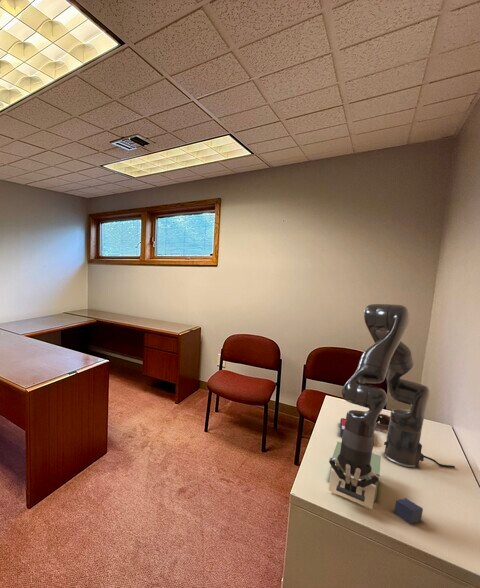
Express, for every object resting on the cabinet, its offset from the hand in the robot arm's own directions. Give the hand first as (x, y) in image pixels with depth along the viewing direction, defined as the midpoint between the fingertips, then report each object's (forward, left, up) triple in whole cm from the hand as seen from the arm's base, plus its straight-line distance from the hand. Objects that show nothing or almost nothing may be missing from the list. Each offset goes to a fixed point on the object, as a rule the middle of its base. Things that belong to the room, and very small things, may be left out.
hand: (349, 493), depth 103 cm
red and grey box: (-18, -56, -5) cm, 59 cm away
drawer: (-2, -6, -4) cm, 8 cm away
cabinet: (-6, -16, -4) cm, 18 cm away
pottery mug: (-32, -69, -5) cm, 76 cm away
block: (-16, -3, -4) cm, 17 cm away
